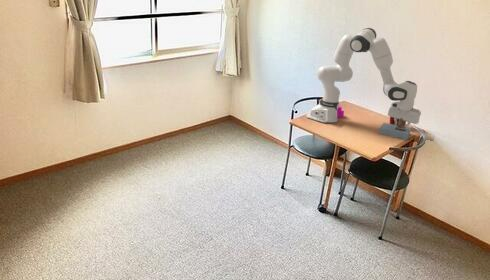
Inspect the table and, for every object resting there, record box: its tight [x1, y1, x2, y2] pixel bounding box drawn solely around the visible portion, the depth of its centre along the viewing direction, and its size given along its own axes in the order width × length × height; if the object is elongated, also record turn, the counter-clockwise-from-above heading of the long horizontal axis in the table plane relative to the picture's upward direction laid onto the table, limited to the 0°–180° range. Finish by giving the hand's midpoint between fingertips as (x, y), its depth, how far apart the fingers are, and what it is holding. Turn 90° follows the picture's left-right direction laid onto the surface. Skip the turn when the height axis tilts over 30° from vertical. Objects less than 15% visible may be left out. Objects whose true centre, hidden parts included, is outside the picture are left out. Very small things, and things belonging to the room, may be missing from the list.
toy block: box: [337, 106, 345, 118], centre depth 292 cm, size 15×6×8 cm, turn 18°
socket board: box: [378, 122, 412, 141], centre depth 260 cm, size 18×14×4 cm
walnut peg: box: [396, 118, 407, 131], centre depth 257 cm, size 4×4×10 cm
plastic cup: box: [389, 116, 399, 125], centre depth 274 cm, size 11×11×12 cm
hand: (401, 126), depth 257 cm, fingers closed on walnut peg, 5 cm apart
